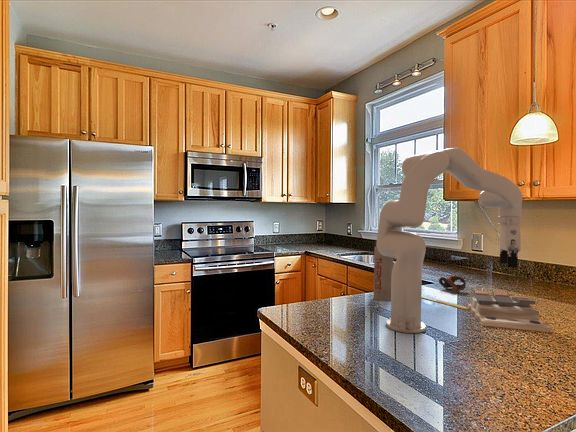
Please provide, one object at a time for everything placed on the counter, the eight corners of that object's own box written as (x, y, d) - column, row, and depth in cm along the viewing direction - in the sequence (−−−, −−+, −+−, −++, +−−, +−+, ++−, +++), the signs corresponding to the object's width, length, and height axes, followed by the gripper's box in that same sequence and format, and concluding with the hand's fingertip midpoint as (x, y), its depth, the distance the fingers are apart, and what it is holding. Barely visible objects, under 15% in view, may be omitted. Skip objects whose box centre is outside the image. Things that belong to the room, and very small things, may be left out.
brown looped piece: (463, 290, 168) (468, 277, 163) (461, 302, 161) (466, 289, 156) (437, 281, 172) (442, 269, 168) (435, 293, 165) (439, 280, 161)
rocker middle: (513, 306, 121) (514, 302, 121) (498, 304, 122) (498, 301, 122) (506, 296, 128) (507, 292, 128) (492, 295, 130) (492, 291, 130)
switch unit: (551, 332, 109) (551, 315, 109) (481, 325, 115) (482, 309, 115) (525, 312, 130) (525, 298, 130) (467, 307, 136) (468, 294, 136)
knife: (405, 290, 162) (399, 290, 160) (473, 307, 135) (467, 307, 132) (405, 293, 162) (398, 293, 160) (473, 310, 135) (466, 310, 132)
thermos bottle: (380, 301, 143) (382, 235, 143) (369, 296, 151) (371, 234, 150) (396, 299, 146) (397, 235, 146) (384, 295, 154) (385, 233, 153)
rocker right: (535, 304, 119) (535, 300, 119) (519, 303, 120) (519, 298, 120) (526, 301, 127) (526, 297, 127) (511, 299, 128) (511, 295, 128)
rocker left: (493, 304, 123) (493, 300, 123) (478, 303, 124) (478, 299, 124) (487, 294, 130) (487, 291, 130) (473, 293, 132) (473, 290, 131)
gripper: (529, 222, 122) (527, 269, 122) (513, 221, 138) (512, 262, 139) (505, 221, 124) (503, 268, 124) (492, 220, 140) (491, 261, 141)
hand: (508, 265), depth 131 cm, fingers open, 9 cm apart
